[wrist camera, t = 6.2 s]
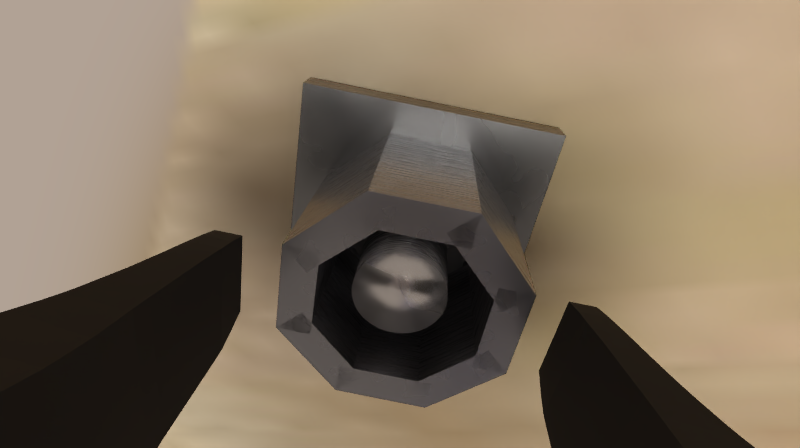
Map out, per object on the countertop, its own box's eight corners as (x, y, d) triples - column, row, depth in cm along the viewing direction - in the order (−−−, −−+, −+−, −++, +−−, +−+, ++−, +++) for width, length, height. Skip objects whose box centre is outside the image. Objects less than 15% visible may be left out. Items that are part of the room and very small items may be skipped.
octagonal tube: (477, 318, 15) (487, 419, 11) (313, 285, 15) (272, 376, 11) (528, 162, 13) (561, 229, 9) (332, 122, 12) (287, 174, 9)
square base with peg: (491, 323, 16) (506, 428, 12) (292, 283, 16) (244, 375, 12) (558, 128, 13) (608, 185, 9) (311, 77, 13) (254, 113, 9)
